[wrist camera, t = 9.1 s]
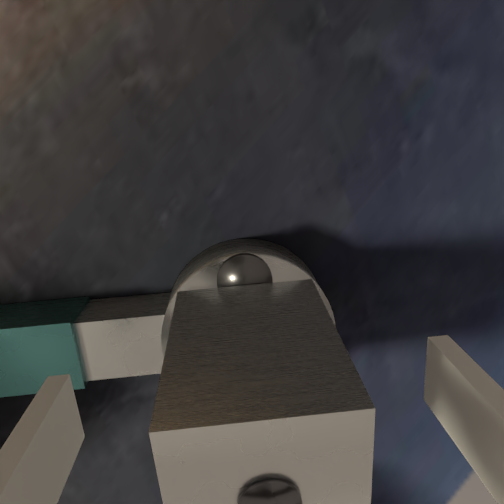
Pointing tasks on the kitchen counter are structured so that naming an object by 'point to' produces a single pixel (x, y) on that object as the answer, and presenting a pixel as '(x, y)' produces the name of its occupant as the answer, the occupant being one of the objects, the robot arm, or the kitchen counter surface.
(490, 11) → the kitchen counter surface
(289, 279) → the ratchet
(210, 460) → the cube with chrome domes
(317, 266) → the kitchen counter surface
